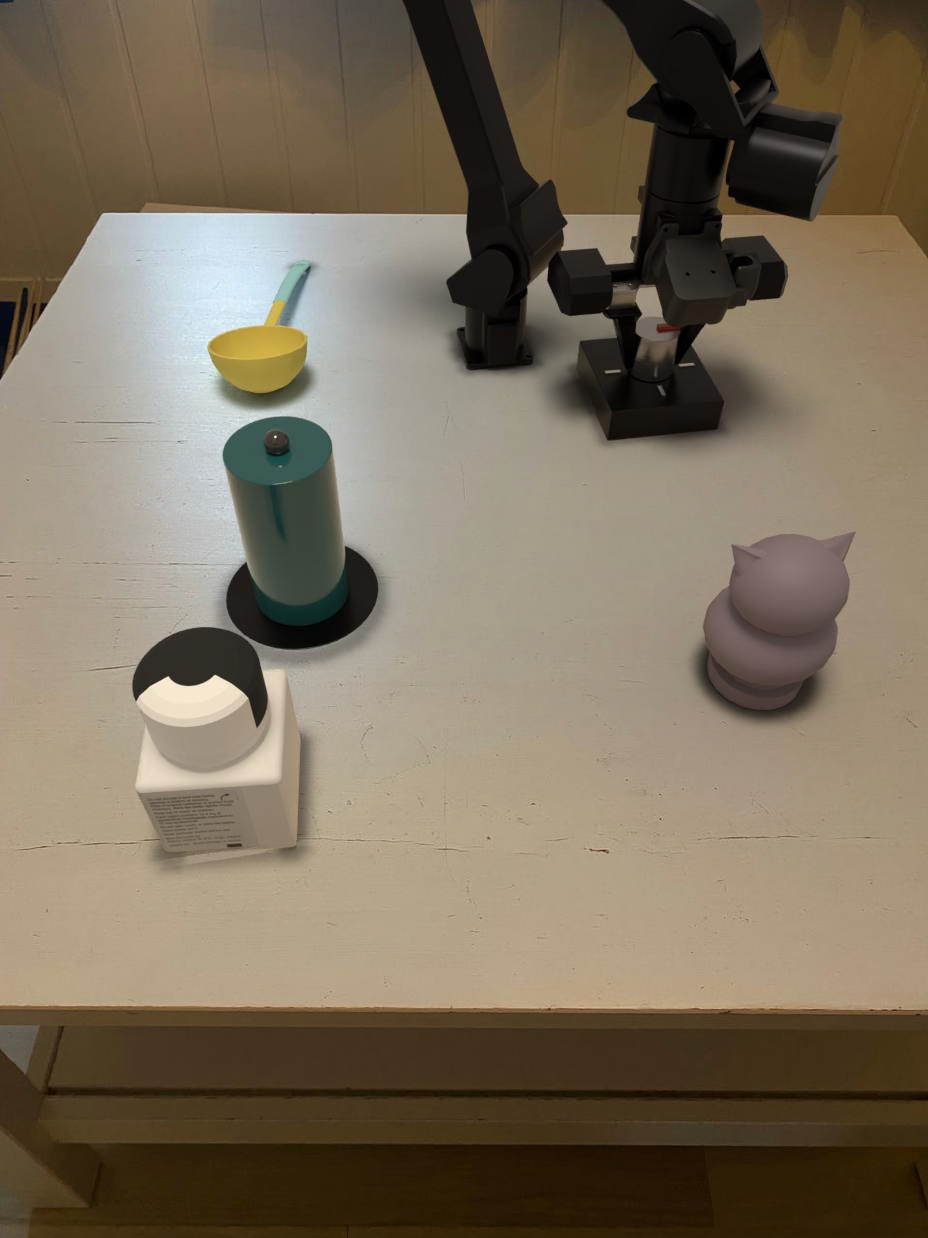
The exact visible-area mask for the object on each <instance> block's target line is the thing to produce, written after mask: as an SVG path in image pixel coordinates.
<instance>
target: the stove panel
mask: <svg viewBox="0 0 928 1238" xmlns="http://www.w3.org/2000/svg"><path fill="white" fill-rule="evenodd" d="M578 342H579V343H578V353H577V361H576V370H577V373H578V375H579V377H580V380H581V382H582V384H583V386H584V390H585V391H586V393H587V396H588V398H589V400H590V403H591V405H592V407H593V411H594V412H595V414H596V417H597V419H598V421H599V424H600V426H601V428H602V430H603V433H604V435H605V437H606V439H607V441H614V440H624V439H633V438H643V437H653V436H663V435H670V434H671V435H673V434H681V433H682V434H683V433H692V432H693V433H694V432H701V431H712V430H718V428H719V424H720V419H721V416H722V412H723V408H724V404H725V399H724V398H723V396H722V394H721V393H720V391H719V389H718V387H717V385H716V384H715V382H714V380H713V379H712V377H711V374H709V372H708V371H707V368H706V367H705V365H704V364H703V361H702V360H701V358H700V356H699V354H698V353H697V351H696V350H695V348H694V347H693V345H691V346H690V348H689V349H688V351H687V352H686V354H685V355H684V357H683V358H682V360H681V361H680V363H679V364H678V365H674V367H673V371H672V374H671V376H670V377H669V378H667V379H665V380H663V381H658V382H647V381H642V380H639V379H637V378H635V377H633V376H632V375H631V374H630V373H629V371H628V369H626V368H625V366H624V364H623V361H622V357H621V353H620V348H619V344H618V340H617V336H616V337H605V338H595V339H594V338H593V339H583V340H579V341H578Z"/></svg>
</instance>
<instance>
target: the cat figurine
mask: <svg viewBox="0 0 928 1238" xmlns="http://www.w3.org/2000/svg"><path fill="white" fill-rule="evenodd" d="M856 533H857V531H852V532H851V531H850V532H848V533H844V534H840V535H836V536H833V537H829V538H825V539H821V540H819V539H817V538H814V537H812V536H808V535H804V534H798V533H781V534H776V535H771V536H767V537H764V538H763V539H760V540H759V541H756V542H755V543H752V544H751V545H749V546H746V545H740V544H734V543H733V544H730V545H731V550H732V556H733V561H734V564H733V566H732V570H731V573H730V576H729V581H728V586H726V587H724V588H723V589H722V590H721V591H720V592H719V593H718V594H717V595H716V596H715V597H714V599H712V600H711V602H710V603H709V605H708V607H707V608H706V612H705V616H704V620H703V623H702V630H703V635H704V640H705V644H706V645H705V646H706V648H707V649H708V651H709V655H708V659H707V663H706V670H707V674H708V678H709V680H710V682H711V684H712V686H713V687H714V688H715V690H716V691H718V693H720V695H722V696H723V697H724V698H725V699H726V700H728V701H730V702H732V703H734V704H736V705H738V706H739V707H743V708H747V709H750V710H753V711H772V710H776V709H779V708H782V707H785V706H786V705H788V704H789V703H791V702H792V701H794V699H795V698H796V696H797V694H799V691H800V689H801V687H802V685H803V683H804V681H805V680H806V679H808V678H810V677H811V676H813V675H815V674H816V673H818V672H819V671H820V670H821V669H823V668H824V667H825V666H826V664H827V662H828V661H829V660H830V658H831V657H832V655H833V654H834V653H835V650H836V647H837V640H838V633H839V628H838V624H837V622H836V618H837V617H838V616H839V615H840V613H841V611H843V609H844V608H845V606H846V604H847V602H848V599H849V592H850V584H851V582H850V581H851V580H850V576H849V573H848V571H847V567H846V564H845V563H844V561H845V560H846V557H847V555H848V552H849V549H850V547H851V545H852V542H853V541H854V538H855V535H856Z"/></svg>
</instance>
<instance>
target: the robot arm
mask: <svg viewBox="0 0 928 1238" xmlns="http://www.w3.org/2000/svg"><path fill="white" fill-rule="evenodd" d="M599 1H600V3H602V4H603V5H604V6H605V7H606V8H607V9H608V10H609V11H611V13H613V15H614V16H615V17H616V19H617V20H618V21H619V22H620V23H621V25H622V26H623V28H624V30H625V32H626V35H627V37H628V40H629V42H630V43H631V46H632V49H633V51H634V53H635V54H636V57H637V58H638V60H639V61H640V62H641V63H642V64H643V66H644V68H646V69H647V71H648V72H649V73H650V75H651V76H652V77H653V78H654V80H655V81H654V82H653V83H652V84H651V85H650V87H649V88H648V90H647V91H646V93H644V94H643V95H642V96H641V97H639V98H637V100H636V101H634V102H633V103H632V104H631V105H630V106H628V108H627V109H626V115H627V117H628V118H629V119H632V120H636V121H637V120H638V121H642V122H645V123H646V122H647V123H651V124H653V127H652V134H651V140H650V146H649V153H648V160H647V167H646V174H645V181H644V185H638V191H637V198H636V199H637V200H638V202H639V203H640V205H641V206H640V213H639V218H638V227H637V232H636V235H631V239H630V245H629V249H630V250H631V252H632V254H633V260H632V262H623V263H622V262H621V263H610V264H609V263H608V264H606V263H607V262H605V260H604V258H603V256H602V254H601V252H600V251H599V248H598V247H592V248H578V249H566V250H562V249H563V247H564V244H565V235H564V228H565V227H567V225H568V224H569V222H568V220H567V219H566V218H565V216H564V215H563V213H562V210H561V208H560V206H559V205H560V204H559V201H558V194H557V193H558V192H557V188H556V185H555V183H554V180H553V179H552V178H551V179H547V180H545V181H542V182H541V183H538V182H537V180H535V178H533V176H532V175H531V174H530V173H529V172H528V171H527V170H526V169H525V168H524V166H523V163H522V161H521V158H520V155H519V151H518V149H517V145H516V143H515V138H514V136H513V132H512V129H511V126H510V123H509V120H508V117H507V113H506V110H505V106H504V104H503V101H502V97H501V94H500V90H499V87H498V84H497V81H496V77H495V74H494V70H493V68H492V65H491V62H490V58H489V56H488V52H487V48H486V45H485V42H484V39H483V35H482V32H481V29H480V25H479V23H478V19H477V16H476V13H475V10H474V6H473V3H472V0H401V2H402V4H403V6H404V8H405V11H406V15H407V17H408V21H409V23H410V26H411V29H412V32H413V35H414V38H415V40H416V43H417V46H418V49H419V52H420V55H421V58H422V61H423V64H424V66H425V69H426V72H427V75H428V78H429V81H430V83H431V87H432V90H433V92H434V95H435V98H436V102H437V105H438V107H439V110H440V113H441V116H442V119H443V122H444V124H445V127H446V130H447V133H448V136H449V140H450V143H451V145H452V148H453V150H454V153H455V157H456V159H457V162H458V165H459V168H460V171H461V174H462V177H463V179H464V182H465V186H466V189H467V205H466V206H467V207H466V220H465V221H466V222H465V235H466V241H467V245H468V249H469V254H470V255H469V256H470V259H469V260H468V261H467V262H466V263H465V264H463V265H462V266H461V267H460V268H459V269H458V270H456V271H455V272H454V273H453V274H452V275H451V276H449V277H448V278H447V279H446V281H445V284H446V287H447V290H448V293H449V296H450V300H451V302H452V303H453V304H456V305H458V306H461V307H464V326H460V327H457V328H456V337H457V340H458V345H459V347H460V350H461V354H462V357H463V361H464V364H465V367H466V368H468V369H479V368H492V367H493V368H494V367H501V366H503V367H504V366H514V365H515V366H516V365H524V364H532V363H534V360H535V356H534V353H533V350H532V348H531V344H530V342H529V340H528V337H527V335H526V323H527V321H526V320H527V310H528V309H527V308H528V294H529V293H528V291H529V289H528V286H530V284H531V283H533V282H534V280H536V279H537V278H539V276H540V275H541V274H542V273H543V272H544V271H545V270H547V277H546V282H547V284H548V287H549V289H550V291H551V293H552V295H553V298H554V300H555V302H556V304H557V306H558V309H559V311H560V314H563V315H565V316H568V317H575V316H576V317H577V316H588V315H598V314H599V315H600V314H602V315H603V317H604V318H606V319H608V320H612V324H613V328H614V331H615V336H616V337H617V340H618V344H619V348H620V353H621V357H622V361H623V364H624V366H625V368H626V369H630V368H631V365H632V361H633V357H634V346H635V335H636V323H637V321H638V320H640V319H641V318H642V316H643V313H642V311H641V309H640V306H639V305H638V303H637V301H636V300H637V294H638V291H639V289H646V288H655V290H656V293H657V297H658V301H659V304H660V307H661V315H662V317H663V319H664V321H665V322H666V323H667V324H668V325H670V326H672V327H680V337H679V342H678V347H677V352H676V357H675V362H674V365H678V364H679V363H680V361H681V360H682V358H683V357H684V355H685V354H686V352H687V351H688V349H689V348H690V346H691V345H692V344H694V341H695V340H696V339H697V337H698V336H699V334H700V333H701V332H702V330H703V328H704V327H705V326H706V325H709V326H712V325H717V324H719V323H721V322H722V321H723V319H724V318H725V315H726V313H727V311H729V310H734V309H735V308H738V307H739V308H740V307H746V306H747V304H748V301H749V302H752V301H754V302H755V301H763V300H765V301H766V300H775V299H776V300H778V299H781V297H783V295H784V292H785V289H786V286H787V283H788V278H789V269H788V264H787V263H786V262H785V260H784V259H783V258H782V257H781V256H780V254H779V253H778V252H777V251H776V249H775V248H774V247H773V245H772V244H771V243H770V242H769V240H768V239H767V237H765V235H764V234H762V235H761V234H760V235H748V236H736V237H735V236H734V237H725V238H724V239H722V235H721V233H722V228H723V223H722V220H723V217H724V215H723V213H722V212H721V210H720V209H719V207H718V205H719V200H720V196H721V191H722V186H723V181H724V177H725V184H726V186H728V189H727V197H728V198H732V199H734V202H735V204H738V205H740V206H741V205H742V206H745V207H749V208H754V209H757V210H760V211H764V212H769V213H774V214H777V215H781V216H785V217H789V218H793V219H798V220H802V221H805V222H809V223H812V222H813V221H814V220H816V218H817V216H818V213H819V212H820V210H821V208H822V206H823V204H824V202H825V199H826V197H827V195H828V193H829V189H830V187H831V184H832V182H833V178H834V176H835V173H836V170H837V167H838V164H839V160H840V155H838V153H839V148H840V142H841V135H840V131H841V127H842V123H843V121H844V117H843V115H842V114H841V113H835V112H831V111H810V110H806V109H800V108H795V107H791V106H786V105H781V104H776V103H773V102H775V100H776V99H777V98H778V97H779V95H780V89H779V87H778V84H777V82H776V79H775V77H774V74H773V72H772V68H771V66H770V64H769V61H768V59H767V56H766V53H765V50H764V48H763V45H762V41H761V40H762V36H763V26H762V24H763V23H762V11H761V9H760V6H759V4H758V2H757V1H756V0H599ZM732 81H733V82H734V84H735V85H736V86H737V87H738V88H739V89H738V90H737V91H736V92H735V93H734V89H733V87H732V85H731V83H732ZM732 142H733V144H732V148H731V143H732ZM730 148H731V152H730ZM729 153H730V156H729ZM728 157H729V160H728ZM727 162H728V163H727ZM725 172H726V173H725ZM692 346H693V345H692Z"/></svg>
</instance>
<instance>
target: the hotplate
mask: <svg viewBox="0 0 928 1238" xmlns="http://www.w3.org/2000/svg"><path fill="white" fill-rule="evenodd" d="M345 554H346V562H347V570H348V579H349V595H348V598H347V600H346V602H345V604H344V605H343V606H342V608H341V609H340V610H339V611H338V612H336V613H335V614H334V615H333V616H331V617H329V618H328V619H326V620H324V621H321V622H319V623H315V624H312V625H306V626H290V625H284V624H280V623H278V622H275V621H273V620H271V619H269V618H268V617H267V616H265V615H264V614H263V613H262V612H261V610H260V609H259V607H258V605H257V603H256V600H255V595H254V591H253V587H252V582H251V578H250V574H249V570H248V565H247V561H245V562H244V563H243V564H241V566H239V568H238V569H237V570H236V572H235V573H234V575H233V576H232V577H231V579H230V581H229V584H228V587H227V591H226V599H225V604H226V611H227V613H228V617H229V618H230V621H231V622H232V624H233V625H234V626H235V627H236V629H238V631H240V632H241V634H242V635H243V636H246V637H247V638H248V639H250V640H251V641H253V642H255V643H258V644H260V645H263V646H265V647H269V648H274V649H278V650H286V651H303V650H310V649H311V650H312V649H317V648H320V647H324V646H327V645H330V644H333V643H335V642H338V641H340V640H341V639H344V638H345V637H347V636H349V635H350V634H352V633H353V632H355V631H356V630H357V629H358V628H359V627H361V626H362V625H363V624H364V623H365V621H367V619H368V618H369V617H370V615H371V614H372V612H373V610H374V609H375V606H376V604H377V600H378V597H379V582H378V577H377V574H376V573H375V570H374V568H373V566H372V565H371V564H370V562H369V561H368V560H367V559H366V558H365V557H364V556H363V555H362V554H360V553H359V552H358V551H356V550H355V549H353V548H351V547H349V546H346V545H345Z"/></svg>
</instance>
